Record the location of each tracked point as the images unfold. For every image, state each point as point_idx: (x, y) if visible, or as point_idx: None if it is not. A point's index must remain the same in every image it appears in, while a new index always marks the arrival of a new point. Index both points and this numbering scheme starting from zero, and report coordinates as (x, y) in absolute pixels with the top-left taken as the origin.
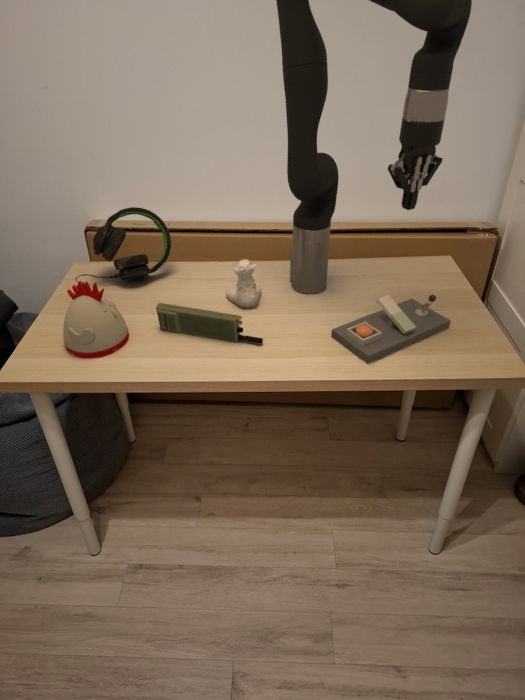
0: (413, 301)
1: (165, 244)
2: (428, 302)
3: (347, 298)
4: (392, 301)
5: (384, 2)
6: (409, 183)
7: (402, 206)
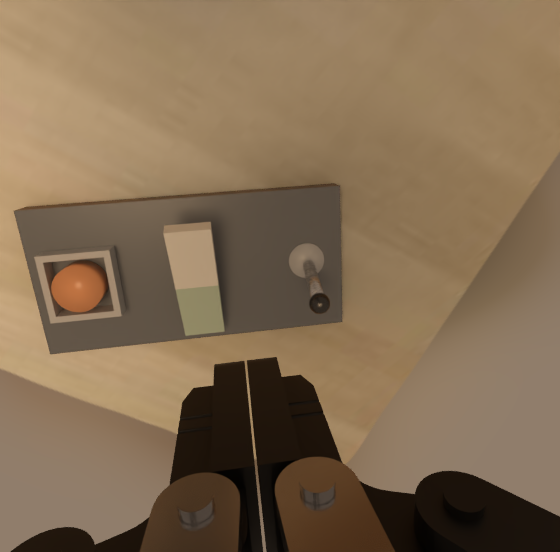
0: (331, 202)
1: None
2: (310, 293)
3: (190, 40)
4: (209, 252)
5: None
6: (280, 532)
7: (215, 367)
